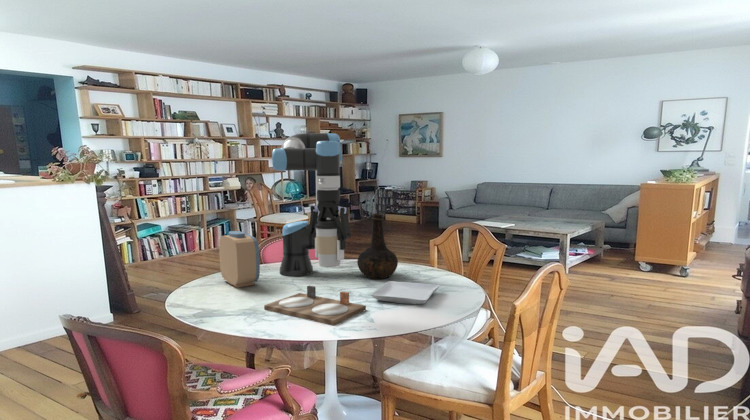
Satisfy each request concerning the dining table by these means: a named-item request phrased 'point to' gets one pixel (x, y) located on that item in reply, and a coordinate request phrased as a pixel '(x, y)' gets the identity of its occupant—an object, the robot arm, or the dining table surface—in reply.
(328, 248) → the coffee cup
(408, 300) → the salad plate
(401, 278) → the dining table surface
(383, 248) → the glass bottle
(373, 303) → the dining table surface
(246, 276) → the alarm clock
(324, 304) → the tag board
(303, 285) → the dining table surface
